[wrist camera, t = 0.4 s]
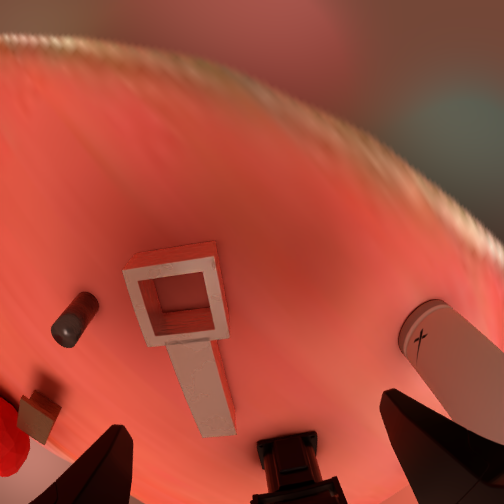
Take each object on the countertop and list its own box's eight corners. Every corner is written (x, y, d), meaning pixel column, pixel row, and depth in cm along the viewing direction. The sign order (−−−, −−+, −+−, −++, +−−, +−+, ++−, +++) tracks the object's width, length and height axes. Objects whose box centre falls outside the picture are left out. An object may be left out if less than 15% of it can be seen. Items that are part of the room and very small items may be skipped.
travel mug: (386, 327, 23) (518, 512, 4) (443, 285, 22) (597, 425, 4) (402, 367, 25) (502, 520, 6) (452, 329, 24) (568, 457, 6)
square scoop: (248, 408, 25) (251, 432, 22) (190, 414, 25) (188, 438, 22) (215, 240, 19) (213, 256, 17) (135, 253, 19) (121, 270, 16)
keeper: (41, 365, 22) (20, 398, 17) (71, 385, 23) (53, 421, 18) (33, 396, 23) (16, 426, 19) (58, 414, 24) (44, 445, 19)
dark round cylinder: (102, 313, 20) (80, 347, 16) (81, 315, 20) (58, 348, 16) (93, 290, 20) (68, 321, 16) (73, 293, 20) (46, 323, 15)
